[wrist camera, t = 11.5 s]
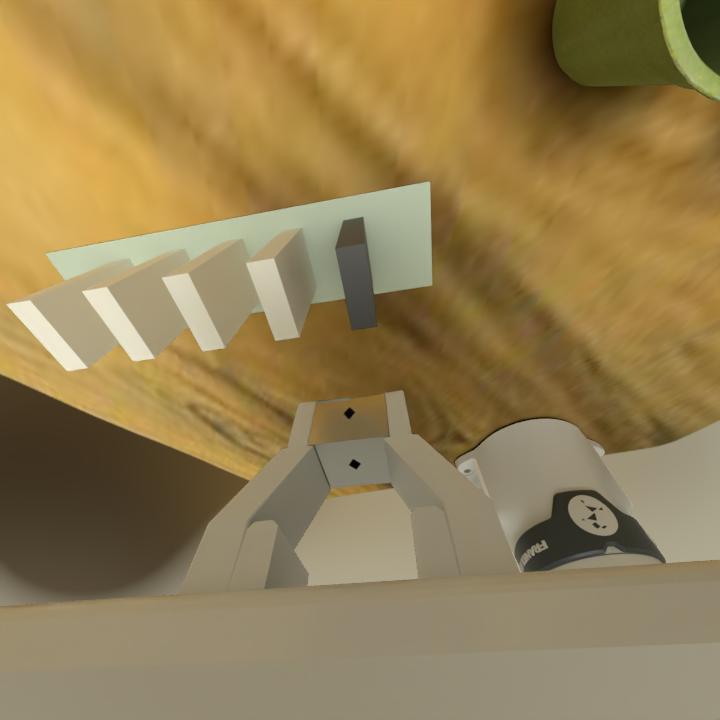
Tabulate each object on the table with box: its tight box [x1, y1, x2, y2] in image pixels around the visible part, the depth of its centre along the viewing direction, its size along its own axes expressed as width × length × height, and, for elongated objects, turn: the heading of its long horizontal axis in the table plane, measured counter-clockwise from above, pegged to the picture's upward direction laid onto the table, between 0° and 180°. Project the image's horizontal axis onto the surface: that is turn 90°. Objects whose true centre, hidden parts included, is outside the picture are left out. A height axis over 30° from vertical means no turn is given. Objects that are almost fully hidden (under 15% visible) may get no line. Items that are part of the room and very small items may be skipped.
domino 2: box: [82, 248, 191, 361], centre depth 22 cm, size 5×2×9 cm, turn 9°
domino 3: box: [162, 238, 260, 351], centre depth 21 cm, size 5×2×9 cm, turn 9°
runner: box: [45, 181, 432, 313], centre depth 25 cm, size 8×32×1 cm, turn 99°
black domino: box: [335, 217, 377, 330], centre depth 20 cm, size 5×2×9 cm, turn 10°
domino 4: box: [246, 227, 317, 341], centre depth 21 cm, size 5×2×9 cm, turn 9°
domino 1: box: [6, 258, 135, 371], centre depth 22 cm, size 5×2×9 cm, turn 9°
